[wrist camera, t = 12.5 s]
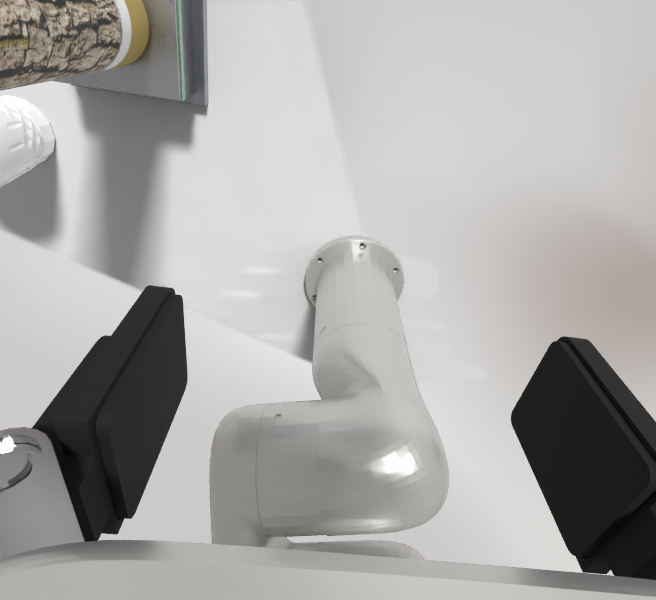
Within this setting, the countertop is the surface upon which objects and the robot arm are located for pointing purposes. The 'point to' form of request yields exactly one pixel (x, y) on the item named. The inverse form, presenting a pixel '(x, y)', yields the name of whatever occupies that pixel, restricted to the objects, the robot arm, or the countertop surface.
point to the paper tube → (68, 38)
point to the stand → (163, 57)
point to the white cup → (22, 138)
